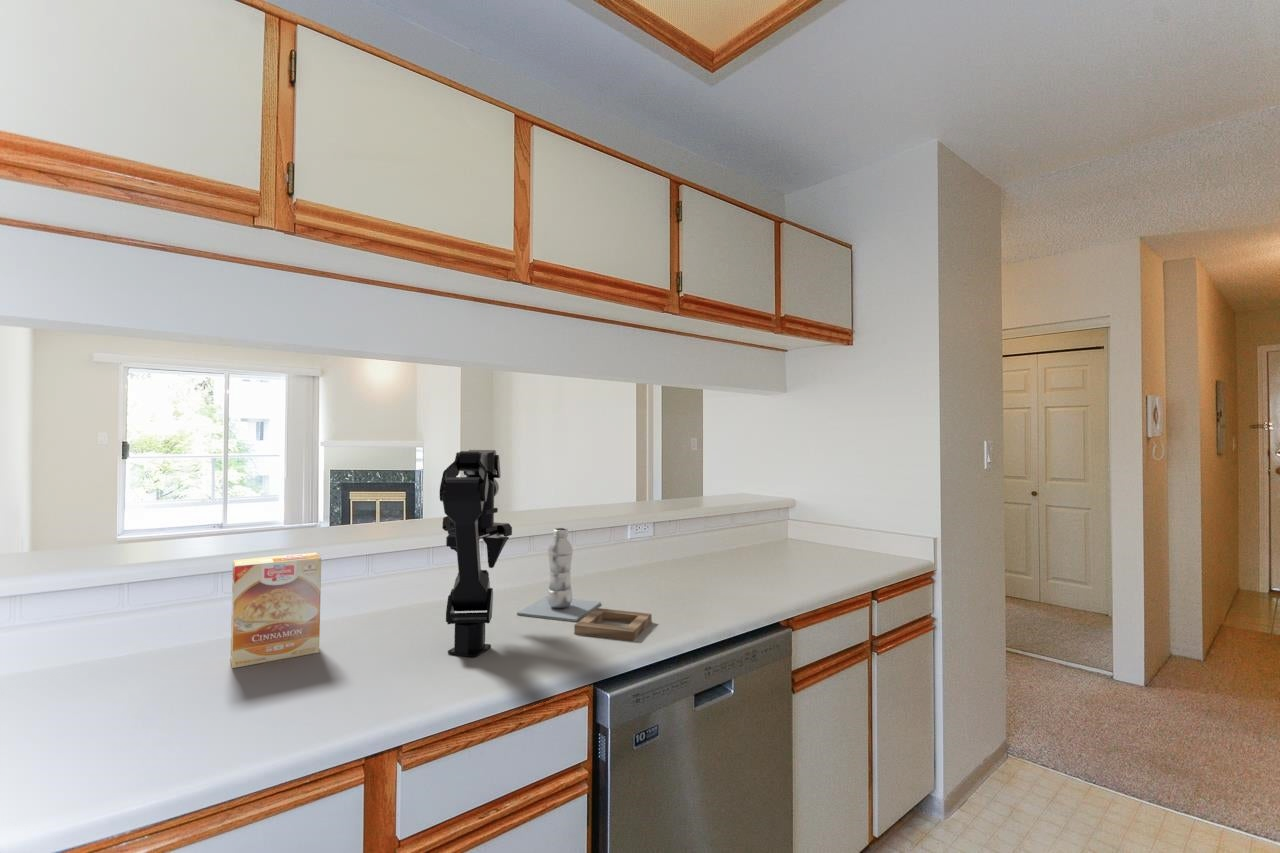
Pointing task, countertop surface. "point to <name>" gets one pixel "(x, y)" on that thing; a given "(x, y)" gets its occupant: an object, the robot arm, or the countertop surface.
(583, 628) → the pocket frame
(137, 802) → the countertop surface
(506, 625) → the countertop surface
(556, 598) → the plastic bottle
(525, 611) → the mat
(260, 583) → the coffeecake box
